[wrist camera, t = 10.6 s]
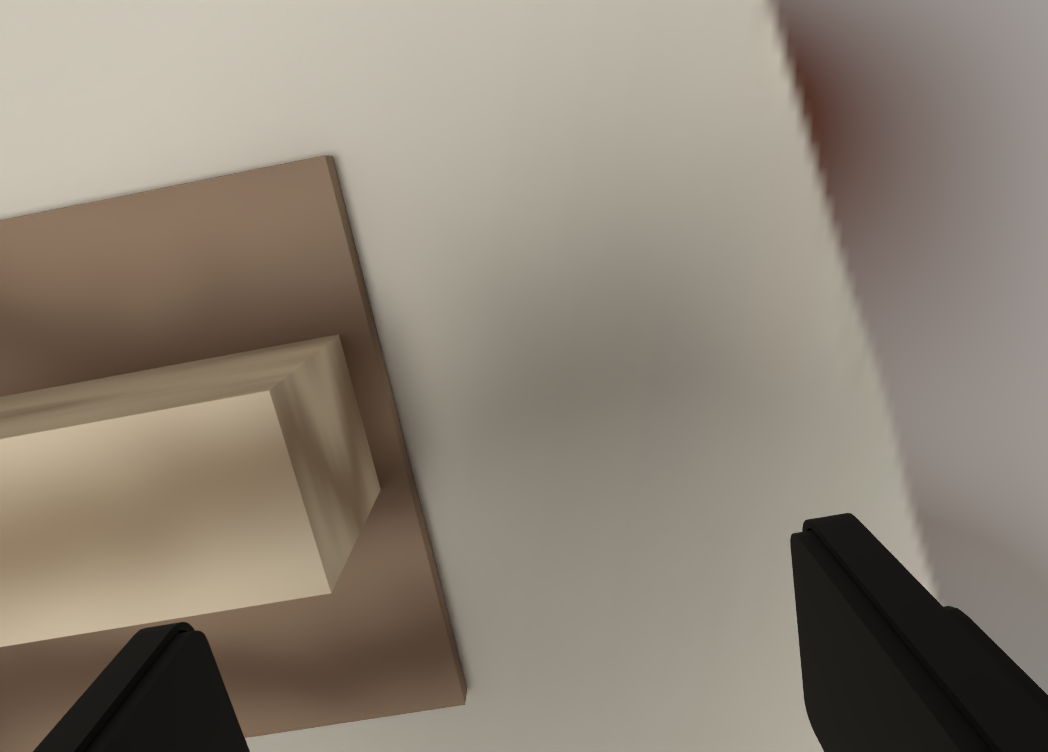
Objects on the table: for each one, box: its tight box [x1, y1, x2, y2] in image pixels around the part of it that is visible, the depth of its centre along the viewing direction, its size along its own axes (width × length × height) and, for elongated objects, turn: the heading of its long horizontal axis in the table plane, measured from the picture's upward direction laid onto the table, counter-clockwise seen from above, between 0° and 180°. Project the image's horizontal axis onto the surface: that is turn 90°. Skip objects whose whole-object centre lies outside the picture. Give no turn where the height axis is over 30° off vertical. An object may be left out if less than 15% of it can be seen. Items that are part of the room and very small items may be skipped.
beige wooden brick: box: [0, 334, 381, 647], centre depth 20 cm, size 6×12×6 cm, turn 101°
